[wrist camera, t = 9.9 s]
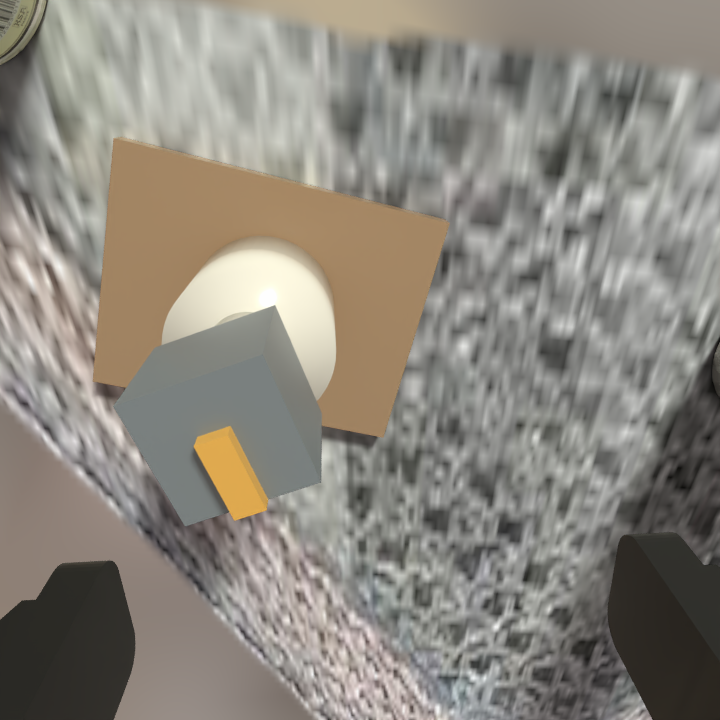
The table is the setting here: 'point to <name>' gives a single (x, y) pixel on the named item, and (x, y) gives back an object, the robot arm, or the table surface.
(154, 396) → the grey cube with tab
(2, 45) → the coffee can
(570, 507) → the table surface
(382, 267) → the board with white bottle
